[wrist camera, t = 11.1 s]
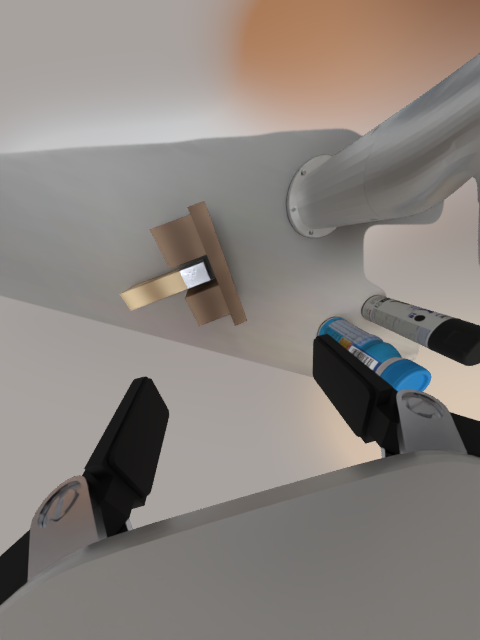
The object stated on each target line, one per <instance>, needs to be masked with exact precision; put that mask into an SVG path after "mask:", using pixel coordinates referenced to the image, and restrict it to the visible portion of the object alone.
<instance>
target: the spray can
mask: <svg viewBox="0 0 480 640" xmlns="http://www.w3.org/2000/svg"><path fill="white" fill-rule="evenodd" d="M362 315H363V317H364V318H366V319H367V320H370V321H372V322H374V323H376V324H378V325H380V326H382V327H384V328H386V329H389V330H391V331H393V332H395V333H397V334H399V335H401V336H403V337H405V338H408V339H410V340H412V341H414V342H416V343H418V344H420V345H422V346H425V347H427V348H429V349H431V350H433V351H435V352H437V353H439V354H442V355H444V356H446V357H448V358H450V359H453V360H455V361H457V362H459V363H461V364H464V365H466V366H473V365H476V364H479V363H480V326H479V325H475V324H473V323H470V322H466V321H463V320H461V319H457V318H454V317H450V316H447V315H443V314H440V313H437V312H434V311H430V310H426V309H423V308H420V307H417V306H414V305H410V304H407V303H403V302H400V301H397V300H393V299H390V298H387V297H383V296H378V295H377V296H373V297H371V298H369V299H368V300H367V301H366V302H365V303H364V305H363V307H362Z"/></svg>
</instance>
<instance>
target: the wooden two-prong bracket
mask: <svg viewBox="0 0 480 640" xmlns="http://www.w3.org/2000/svg"><path fill="white" fill-rule="evenodd" d="M188 210H189V212H190V215H188V216H185V217H182V218H180V219H177V220H174V221H172V222H169V223H166V224H164V225H161V226H158V227H155V228H153V229H150V231H151V233H152V235H153V237H154V239H155V241H156V243H157V245H158V247H159V249H160V251H161V253H162V254H163V256H164V258H165V260H166V262H167V264H168V266H169V268H173V267H176V266H178V265H181V264H183V263H186V262H189V261H191V260H194V259H197V258H199V257H202V256H204V255H207V257H208V259H209V262H210V264H211V267H212V269H213V272H214V274H215V277H216V278H215V279H212V280H209V281H207V282H204V283H202V284H199V285H196V286H194V287H191V288H189V289H188V292H187V294H186V297H185V299H186V301H187V303H188V305H189V307H190V309H191V311H192V313H193V315H194V317H195V319H196V321H197V323H198V325H199V326H201V325H203V324H206V323H208V322H211V321H214V320H216V319H219V318H221V317H224V316H226V315H229V314H231V317H232V319H233V322H234V324H235V326H236V325H238V324H241V323H243V322H246V321H247V319H246V316H245V313H244V310H243V308H242V305H241V302H240V299H239V296H238V294H237V291H236V288H235V285H234V282H233V280H232V277H231V274H230V271H229V269H228V266H227V263H226V260H225V257H224V255H223V252H222V249H221V246H220V243H219V241H218V238H217V235H216V232H215V229H214V227H213V224H212V221H211V218H210V215H209V213H208V210H207V207H206V204H205V201H203V202H200V203H198V204H195V205H192V206H189V207H188Z"/></svg>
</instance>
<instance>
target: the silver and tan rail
mask: <svg viewBox="0 0 480 640" xmlns="http://www.w3.org/2000/svg"><path fill="white" fill-rule="evenodd" d="M209 280H210V274H209V272H208V269H207V267H206V265H205V262H204V260H200V261H198V262H195V263H192V264H190V265H187V266H185V267H182V268H179V269H177V270H174V271H171V272H169V273H166V274H164V275H161V276H158V277H156V278H153V279H151V280H148V281H145V282H143V283H140V284H137V285H135V286H133V287H131V288H129V289H128V290H126V291H124V292H122V293H121V294H120V295H121V297H122V298H123V300H124V301H125V303H126V304H127V306H128V307H129V308H130V310H134V309H137V308H139V307H142V306H144V305H147V304H149V303H152V302H155V301H157V300H160V299H162V298H165V297H168V296H170V295H173V294H175V293H178V292H181V291H183V290H186V289H188V288H191V287H194V286H196V285H199V284H201V283H204V282H207V281H209Z"/></svg>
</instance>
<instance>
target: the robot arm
mask: <svg viewBox="0 0 480 640" xmlns="http://www.w3.org/2000/svg"><path fill="white" fill-rule="evenodd" d="M301 174H302V176H301ZM472 176H473V177H474V178H475V179H476V182H477V187H478V202H479V228H478V229H479V230H478V259H479V266H480V53H479V54H478V55H477V56H475V57H474V58H473V59H471V60H470V61H469V62H467V63H466V64H465V65H463V66H462V67H461V68H459V69H458V70H456V71H455V72H454V73H452V74H451V75H450V76H448V77H447V78H445V79H444V80H443V81H441V82H440V83H439V84H437V85H436V86H434V87H433V88H432V89H430V90H429V91H427V92H426V93H425V94H423V95H422V96H420V97H419V98H417V99H416V100H415V101H413V102H412V103H410V104H409V105H407V106H406V107H405V108H403V109H401V110H400V111H399V112H397V113H396V114H394V115H393V116H391V117H390V118H388V119H387V120H386V121H384V122H383V123H381V124H380V125H378V126H377V127H375V128H374V129H372V130H371V131H370V132H368V133H367V134H365V135H364V136H362V137H361V138H359V139H358V140H356V141H355V142H354V143H352V144H351V145H349V146H348V147H346V148H345V149H343V150H342V151H340V152H339V153H337V154H336V155H335V156H331V155H321V156H317V157H315V158H313V159H311V160H309V161H308V162H307V163H305V164H304V165H303V166H302V167H301V168H300V169H299V170H298V172H297V173H296V174H295V176H294V178H293V180H292V182H291V184H290V187H289V190H288V195H287V213H288V217H289V220H290V222H291V224H292V226H293V228H294V229H295V230H296V231H297V232H298V233H299V234H301V235H302V236H305V237H308V238H319V237H323V236H326V235H328V234H330V233H331V232H333V231H334V230H335V229H336V228H337V227H338V226H344V225H352V224H359V223H366V222H374V221H381V220H388V219H395V218H402V217H407V216H412V215H415V214H418V213H421V212H423V211H425V210H427V209H430V208H432V207H433V206H435V205H437V204H438V203H440V202H441V201H443V200H444V199H446V198H447V197H448V196H450V195H451V194H452V193H454V192H455V191H456V190H457V189H459V188H460V187H461V186H462V185H463V184H464V183H466V182H467V181H468V180H469V179H470V178H471V177H472ZM291 210H292V212H291ZM313 377H314V379H315V380H316V382H317V383H318V385H319V386H320V387H321V389H322V390H323V391H324V393H325V394H326V395H327V397H328V398H329V399H330V401H331V402H332V404H333V405H334V406H335V408H336V409H337V410H338V412H339V413H340V415H341V416H342V417H343V419H344V420H345V421H346V423H347V424H348V425H349V427H350V428H351V429H352V431H353V432H354V433H355V435H356V436H358V437H361V438H362V440H363V441H364V442H365V443H369V442H373V441H376V442H377V443H378V445H379V446H380V447H381V452H382V458H381V459H377V460H374V461H370V462H366V463H362V464H358V465H354V466H351V467H347V468H343V469H340V470H336V471H333V472H329V473H326V474H322V475H319V476H315V477H311V478H308V479H305V480H301V481H297V482H294V483H290V484H287V485H283V486H280V487H276V488H273V489H269V490H266V491H262V492H259V493H255V494H252V495H248V496H245V497H241V498H238V499H235V500H231V501H228V502H224V503H220V504H217V505H213V506H210V507H207V508H203V509H200V510H196V511H193V512H190V513H186V514H183V515H179V516H176V517H173V518H169V519H166V520H162V521H159V522H155V523H152V524H149V525H146V526H143V527H140V528H136V529H133V528H132V525H131V523H130V520H129V517H130V513H131V510H132V509H133V508H137V507H140V506H144V505H145V501H146V497H147V495H149V494H150V492H151V489H152V485H153V481H154V477H155V472H156V468H157V464H158V460H159V455H160V452H161V447H162V443H163V439H164V435H165V431H166V427H167V423H168V418H169V410H168V409H167V406H166V404H165V403H164V401H163V399H162V397H161V396H160V394H159V392H158V390H157V388H156V386H155V385H154V383H153V381H152V379H150V378H149V379H148V377H141V378H137V379H134V380H133V382H132V384H131V385H130V387H129V389H128V391H127V393H126V394H125V396H124V398H123V400H122V401H121V403H120V405H119V407H118V409H117V410H116V412H115V414H114V416H113V418H112V419H111V421H110V423H109V425H108V427H107V429H106V430H105V432H104V434H103V436H102V437H101V439H100V441H99V443H98V445H97V446H96V448H95V450H94V452H93V454H92V455H91V457H90V459H89V461H88V463H87V465H86V466H85V472H84V473H83V475H82V476H80V475H79V476H74V477H72V478H70V479H68V480H66V481H65V482H63V483H62V484H60V485H59V486H58V487H57V488H56V489H55V490H53V491H52V492H51V493H50V494H49V496H48V497H47V498H46V499H45V500H44V501H43V503H42V504H41V505H40V507H39V508H38V510H37V511H36V513H35V515H34V517H33V519H32V523H31V528H30V530H29V531H28V532H27V533H26V534H24V535H23V536H22V537H21V538H20V539H19V540H18V541H17V542H16V543H15V544H13V545H12V546H11V547H10V548H9V549H8V550H7V551H6V552H5V553H3V554H2V555H1V556H0V640H480V421H477V420H473V419H470V418H467V417H464V416H460V415H457V414H454V413H451V412H449V411H448V409H447V408H446V406H445V405H444V404H443V403H442V402H440V401H439V400H438V399H436V398H435V397H433V396H431V395H429V394H427V393H424V392H421V391H418V390H412V389H404V390H401V391H399V392H398V391H397V390H396V389H394V387H392V386H391V385H390V384H389V383H388V382H386V381H385V380H384V379H383V378H381V377H380V376H379V375H378V374H377V373H375V372H374V371H373V370H372V369H370V368H369V367H368V366H367V365H365V364H364V363H363V362H362V361H361V360H359V359H358V358H357V357H356V356H354V355H353V354H352V353H351V352H350V351H348V350H347V349H346V348H345V347H343V346H342V345H341V344H340V343H338V342H337V341H336V340H335V339H334V338H332V337H331V336H330V335H329V334H323V335H319V336H317V337H316V339H314V342H313Z"/></svg>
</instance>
